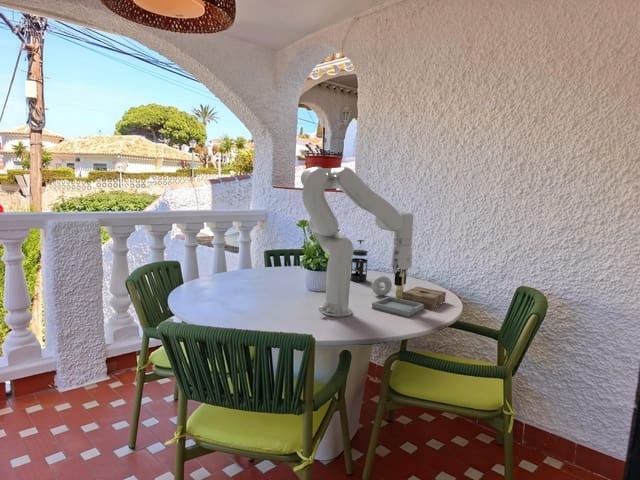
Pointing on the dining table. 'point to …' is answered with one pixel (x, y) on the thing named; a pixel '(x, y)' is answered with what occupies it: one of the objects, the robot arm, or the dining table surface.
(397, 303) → the tray
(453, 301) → the dining table surface
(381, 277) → the donut
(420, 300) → the pin block
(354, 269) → the french press
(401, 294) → the pin
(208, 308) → the dining table surface
